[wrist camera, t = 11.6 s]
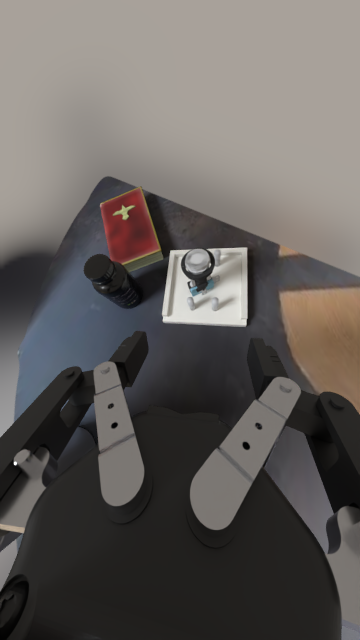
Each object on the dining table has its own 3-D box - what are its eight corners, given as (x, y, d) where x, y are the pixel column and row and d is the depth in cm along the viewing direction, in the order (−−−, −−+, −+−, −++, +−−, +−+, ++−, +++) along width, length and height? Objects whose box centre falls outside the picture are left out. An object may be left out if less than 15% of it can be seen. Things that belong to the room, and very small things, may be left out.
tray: (164, 322, 36) (156, 315, 31) (172, 256, 40) (167, 240, 35) (245, 326, 33) (250, 319, 28) (245, 254, 37) (250, 236, 32)
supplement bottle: (111, 293, 41) (71, 263, 29) (135, 276, 41) (105, 240, 29) (124, 315, 38) (86, 292, 27) (149, 298, 38) (122, 267, 27)
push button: (213, 270, 36) (214, 234, 27) (225, 291, 34) (230, 260, 25) (184, 283, 36) (174, 253, 27) (194, 304, 35) (187, 280, 25)
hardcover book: (119, 278, 42) (110, 268, 38) (107, 216, 49) (97, 203, 45) (166, 260, 41) (160, 249, 37) (146, 200, 48) (140, 185, 44)
